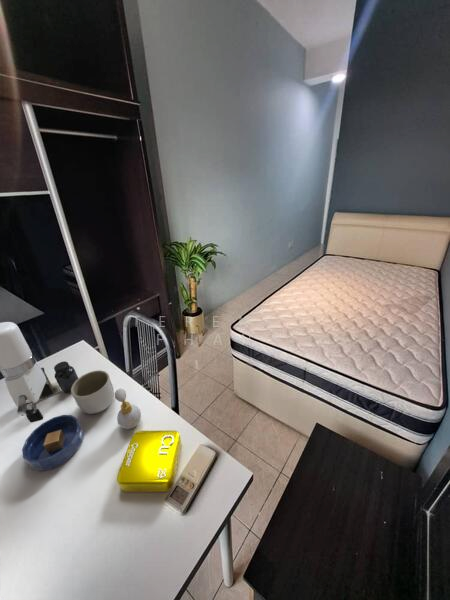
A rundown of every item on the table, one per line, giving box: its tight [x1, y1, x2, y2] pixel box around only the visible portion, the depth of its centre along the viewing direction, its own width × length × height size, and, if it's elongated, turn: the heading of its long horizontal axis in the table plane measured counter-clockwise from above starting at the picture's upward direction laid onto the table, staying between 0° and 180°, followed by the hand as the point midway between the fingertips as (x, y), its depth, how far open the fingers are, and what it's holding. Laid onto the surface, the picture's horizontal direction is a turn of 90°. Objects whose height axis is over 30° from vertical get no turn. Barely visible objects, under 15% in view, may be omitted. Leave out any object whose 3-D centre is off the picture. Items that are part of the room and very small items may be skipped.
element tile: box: [116, 430, 182, 493], centre depth 72 cm, size 15×15×5 cm
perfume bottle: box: [114, 388, 142, 430], centre depth 83 cm, size 8×10×12 cm
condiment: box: [36, 366, 61, 403], centre depth 97 cm, size 7×8×12 cm
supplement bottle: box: [53, 361, 79, 394], centre depth 98 cm, size 7×7×12 cm
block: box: [43, 430, 66, 453], centre depth 78 cm, size 4×4×4 cm
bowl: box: [21, 414, 85, 472], centre depth 78 cm, size 15×15×5 cm
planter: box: [70, 370, 115, 415], centre depth 90 cm, size 12×12×11 cm
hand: (42, 406), depth 76 cm, fingers open, 9 cm apart
